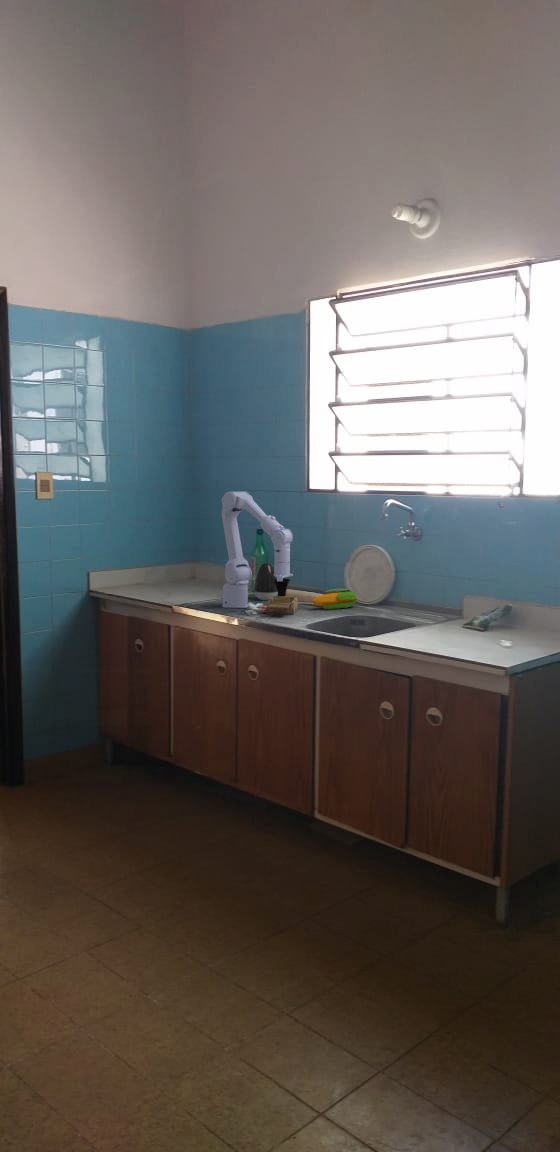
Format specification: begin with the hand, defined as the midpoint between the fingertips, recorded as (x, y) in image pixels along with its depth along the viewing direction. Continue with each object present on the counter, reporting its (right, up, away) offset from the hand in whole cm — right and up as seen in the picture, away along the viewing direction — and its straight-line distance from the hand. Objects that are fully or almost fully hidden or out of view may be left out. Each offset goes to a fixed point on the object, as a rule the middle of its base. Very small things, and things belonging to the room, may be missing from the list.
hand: (281, 598), depth 340 cm
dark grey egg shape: (-6, -1, +32) cm, 33 cm away
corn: (+20, -4, +10) cm, 23 cm away
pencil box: (0, -5, +3) cm, 5 cm away
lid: (-1, -3, -6) cm, 7 cm away
